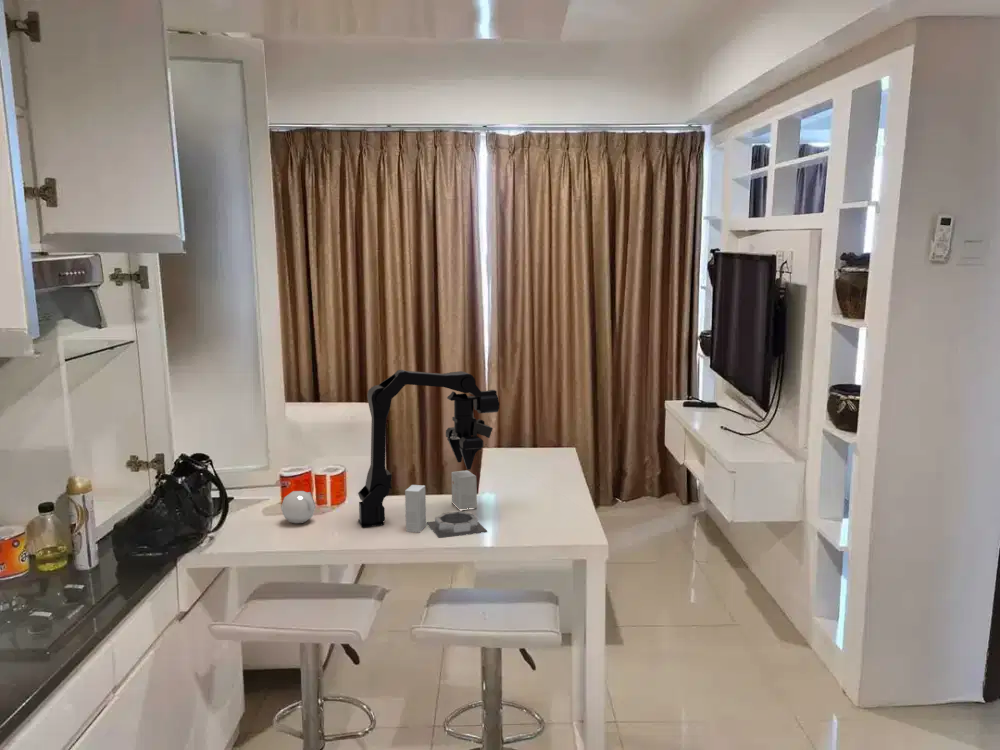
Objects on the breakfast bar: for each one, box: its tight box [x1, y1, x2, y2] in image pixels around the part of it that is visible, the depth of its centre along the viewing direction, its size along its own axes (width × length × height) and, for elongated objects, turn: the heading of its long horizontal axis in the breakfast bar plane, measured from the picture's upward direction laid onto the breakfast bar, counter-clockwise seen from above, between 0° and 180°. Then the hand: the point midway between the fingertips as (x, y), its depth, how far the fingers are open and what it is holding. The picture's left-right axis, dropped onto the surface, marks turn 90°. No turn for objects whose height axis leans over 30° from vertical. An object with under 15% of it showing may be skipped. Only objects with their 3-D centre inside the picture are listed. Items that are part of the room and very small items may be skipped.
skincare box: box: [404, 484, 427, 533], centre depth 212 cm, size 6×4×12 cm
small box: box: [451, 469, 478, 509], centre depth 232 cm, size 8×6×10 cm
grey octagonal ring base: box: [426, 511, 488, 539], centre depth 213 cm, size 14×13×3 cm
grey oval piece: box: [280, 490, 316, 524], centre depth 220 cm, size 9×10×15 cm
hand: (464, 465), depth 225 cm, fingers open, 9 cm apart
